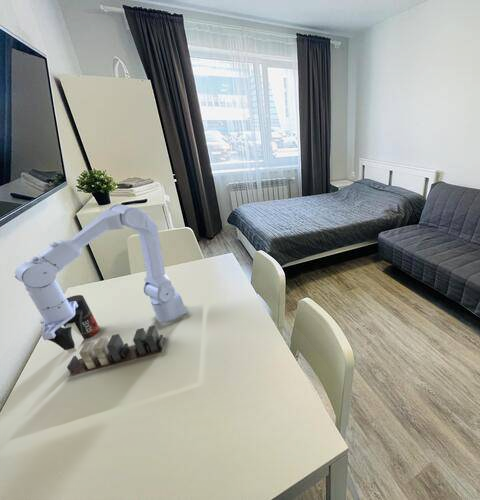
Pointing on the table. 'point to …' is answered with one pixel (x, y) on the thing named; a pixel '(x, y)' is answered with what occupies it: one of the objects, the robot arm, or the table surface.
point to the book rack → (116, 351)
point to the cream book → (75, 337)
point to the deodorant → (85, 317)
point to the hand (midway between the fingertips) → (74, 341)
